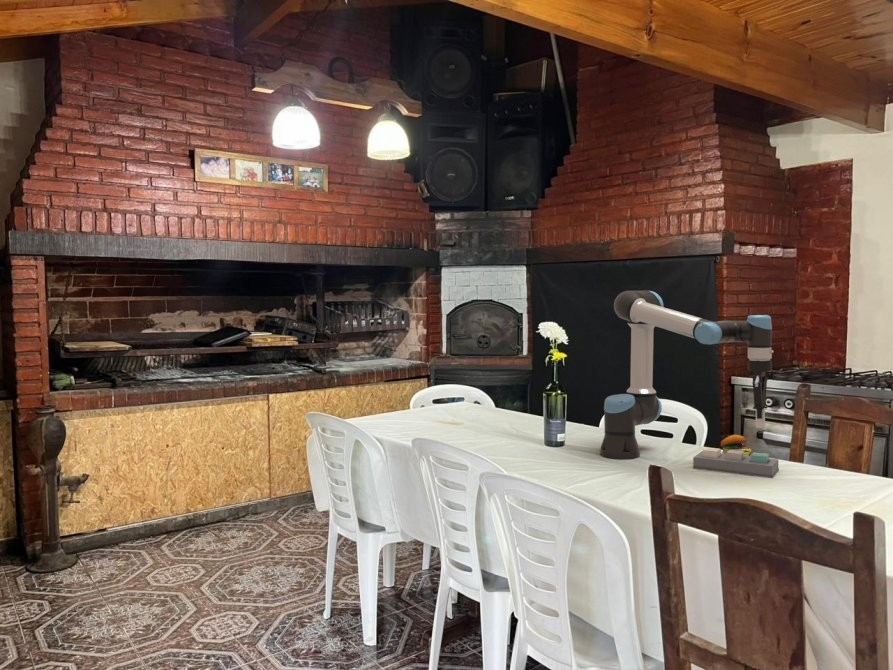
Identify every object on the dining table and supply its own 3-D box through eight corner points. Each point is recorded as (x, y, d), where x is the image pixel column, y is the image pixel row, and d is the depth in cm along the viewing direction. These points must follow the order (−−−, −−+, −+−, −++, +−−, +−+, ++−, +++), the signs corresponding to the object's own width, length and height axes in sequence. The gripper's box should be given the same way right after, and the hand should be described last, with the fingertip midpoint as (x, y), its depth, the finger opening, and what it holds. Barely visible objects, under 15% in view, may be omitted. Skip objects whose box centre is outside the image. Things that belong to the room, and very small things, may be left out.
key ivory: (702, 459, 238) (702, 449, 238) (706, 456, 242) (706, 447, 242) (717, 461, 235) (717, 451, 235) (720, 458, 240) (720, 448, 239)
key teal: (750, 465, 229) (750, 454, 229) (753, 462, 233) (753, 452, 233) (766, 466, 226) (766, 456, 226) (769, 463, 230) (769, 453, 230)
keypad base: (692, 468, 237) (692, 457, 237) (701, 461, 247) (701, 451, 247) (772, 478, 222) (772, 466, 222) (778, 470, 232) (778, 459, 232)
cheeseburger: (735, 462, 244) (730, 435, 246) (717, 463, 254) (712, 437, 256) (758, 459, 247) (753, 432, 249) (739, 460, 257) (734, 434, 259)
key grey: (726, 462, 234) (726, 452, 234) (729, 459, 238) (729, 449, 238) (741, 463, 231) (741, 454, 231) (744, 461, 235) (744, 451, 235)
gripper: (768, 361, 221) (768, 431, 222) (775, 358, 231) (775, 425, 232) (744, 360, 225) (744, 429, 226) (751, 358, 236) (752, 423, 236)
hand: (760, 427), depth 229 cm, fingers closed
